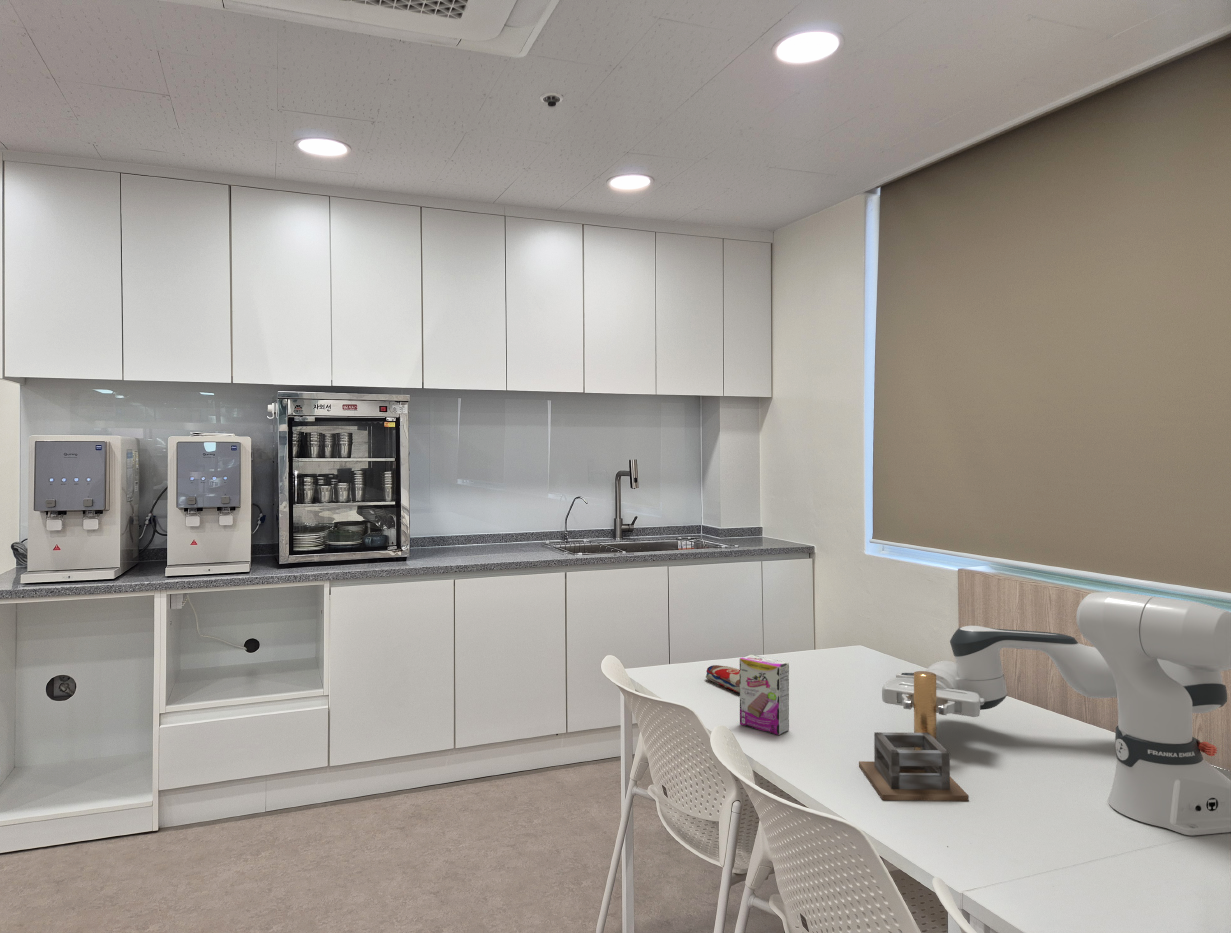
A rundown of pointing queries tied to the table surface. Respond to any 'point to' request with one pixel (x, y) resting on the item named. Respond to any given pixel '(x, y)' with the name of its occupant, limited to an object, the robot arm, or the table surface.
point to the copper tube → (925, 703)
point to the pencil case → (724, 676)
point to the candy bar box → (764, 694)
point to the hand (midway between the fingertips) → (924, 708)
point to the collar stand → (911, 769)
